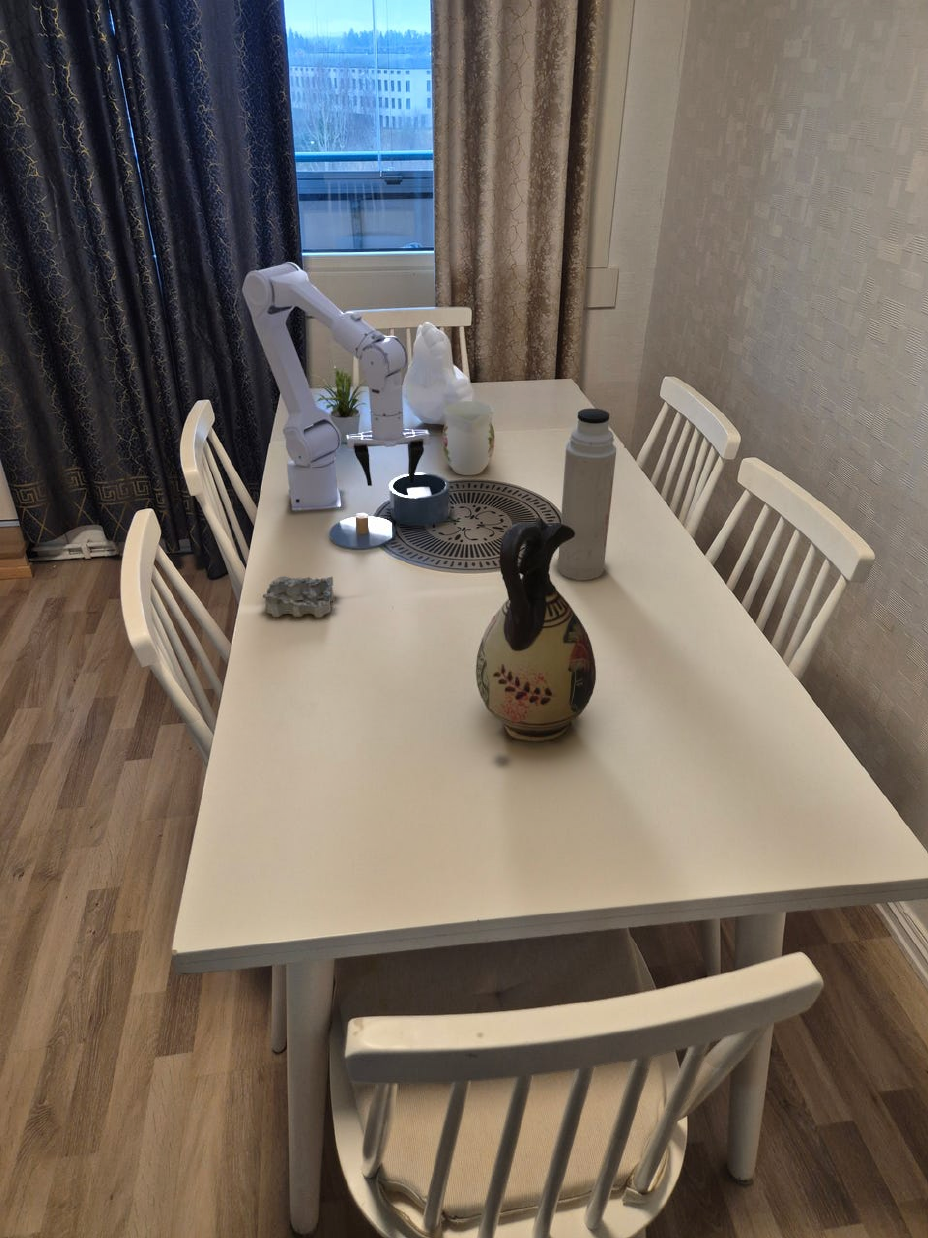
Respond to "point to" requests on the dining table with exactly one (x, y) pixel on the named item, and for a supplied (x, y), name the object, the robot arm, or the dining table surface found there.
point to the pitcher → (468, 436)
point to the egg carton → (309, 594)
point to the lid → (362, 532)
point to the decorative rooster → (434, 377)
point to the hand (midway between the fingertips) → (390, 482)
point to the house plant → (343, 405)
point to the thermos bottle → (587, 495)
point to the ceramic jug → (534, 642)
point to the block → (418, 491)
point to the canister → (419, 500)
